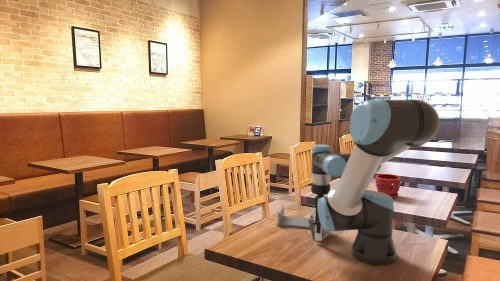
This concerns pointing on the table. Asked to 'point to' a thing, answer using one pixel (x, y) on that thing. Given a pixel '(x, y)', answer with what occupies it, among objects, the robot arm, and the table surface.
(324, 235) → the electrical switch
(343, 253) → the table surface
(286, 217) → the housing
